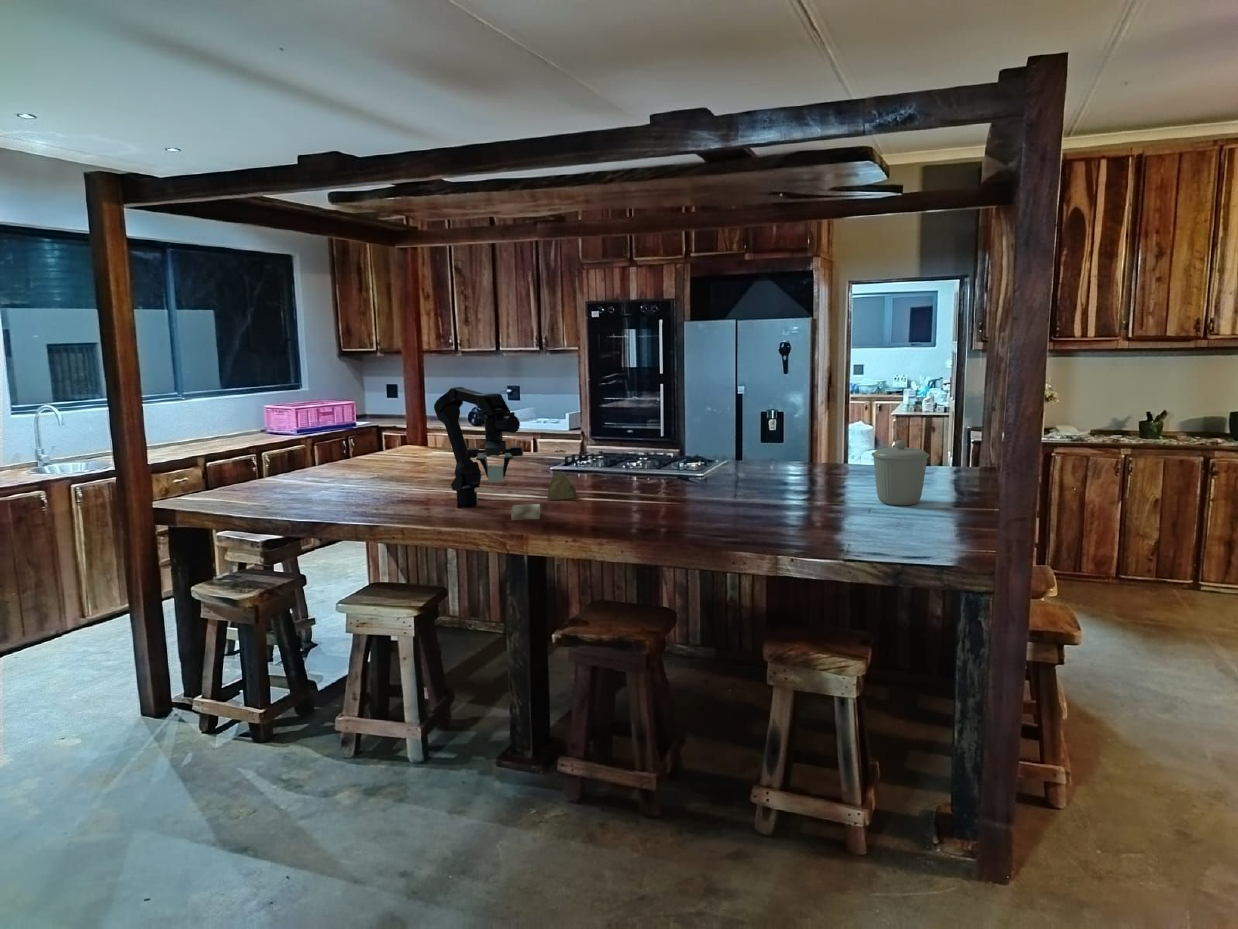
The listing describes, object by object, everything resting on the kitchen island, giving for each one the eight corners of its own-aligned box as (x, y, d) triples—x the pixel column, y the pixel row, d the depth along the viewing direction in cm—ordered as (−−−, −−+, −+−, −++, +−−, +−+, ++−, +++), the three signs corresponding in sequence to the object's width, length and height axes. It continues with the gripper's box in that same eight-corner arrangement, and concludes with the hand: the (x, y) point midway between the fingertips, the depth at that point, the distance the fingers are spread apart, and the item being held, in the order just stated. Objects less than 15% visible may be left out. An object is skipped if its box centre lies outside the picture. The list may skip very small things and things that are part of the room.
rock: (583, 489, 297) (559, 484, 301) (579, 474, 291) (554, 469, 295) (571, 511, 291) (547, 506, 295) (566, 496, 285) (541, 491, 289)
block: (488, 482, 270) (487, 467, 270) (489, 479, 275) (488, 465, 275) (503, 481, 271) (502, 467, 270) (504, 479, 276) (503, 464, 275)
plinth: (511, 520, 262) (511, 510, 261) (513, 514, 271) (513, 505, 270) (539, 518, 262) (539, 509, 262) (540, 512, 271) (540, 504, 271)
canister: (932, 509, 259) (934, 443, 256) (873, 508, 263) (874, 443, 259) (923, 497, 276) (924, 436, 273) (867, 497, 280) (869, 436, 277)
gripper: (462, 435, 262) (465, 482, 264) (520, 433, 263) (522, 480, 266) (466, 431, 273) (469, 476, 275) (522, 429, 274) (524, 474, 277)
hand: (496, 477), depth 273 cm, fingers closed on block, 5 cm apart
